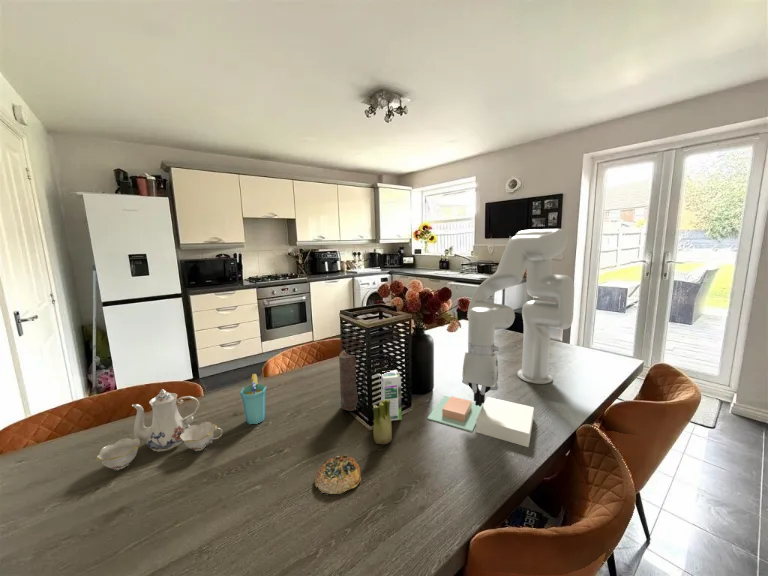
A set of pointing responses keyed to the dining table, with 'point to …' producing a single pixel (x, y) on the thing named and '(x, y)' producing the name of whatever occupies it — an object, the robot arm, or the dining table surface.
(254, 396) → the cup
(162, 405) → the chinaware
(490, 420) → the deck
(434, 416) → the mat
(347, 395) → the candle
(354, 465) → the bread roll
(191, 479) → the dining table surface
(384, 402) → the fennel bulb
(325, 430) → the dining table surface
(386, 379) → the syrup box
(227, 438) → the dining table surface
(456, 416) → the tile
